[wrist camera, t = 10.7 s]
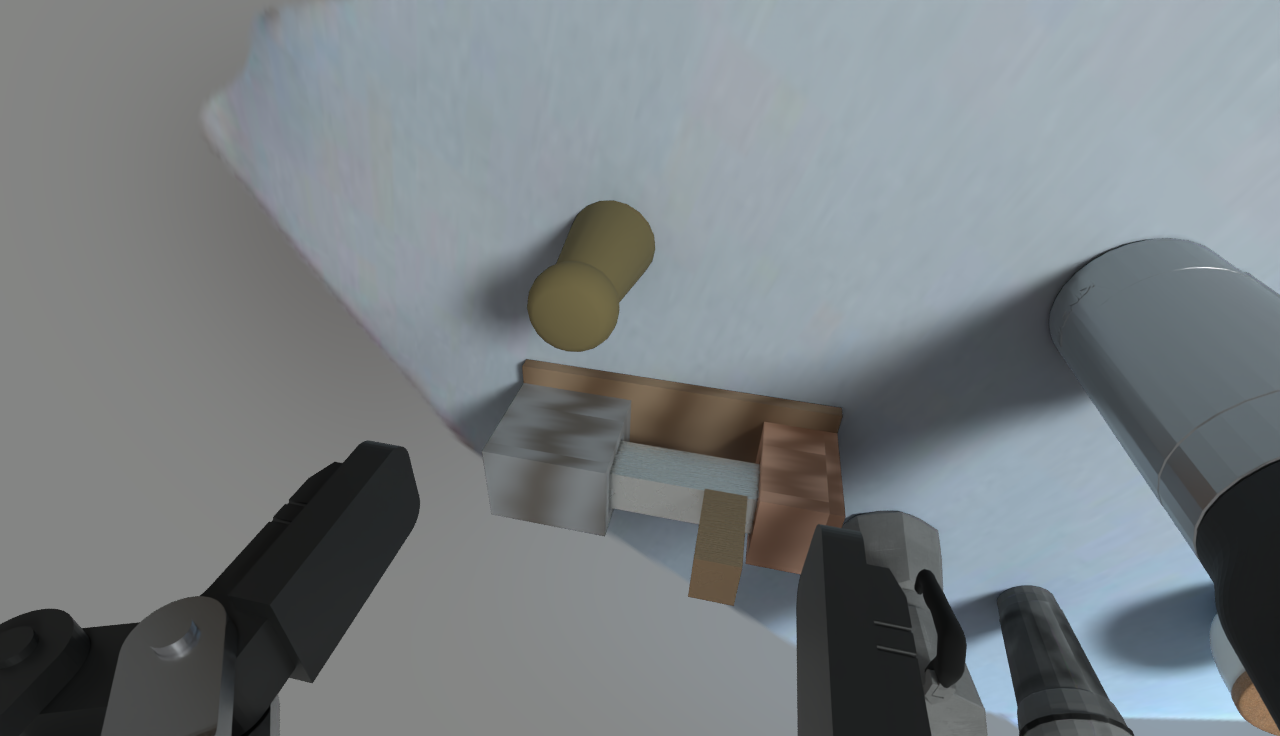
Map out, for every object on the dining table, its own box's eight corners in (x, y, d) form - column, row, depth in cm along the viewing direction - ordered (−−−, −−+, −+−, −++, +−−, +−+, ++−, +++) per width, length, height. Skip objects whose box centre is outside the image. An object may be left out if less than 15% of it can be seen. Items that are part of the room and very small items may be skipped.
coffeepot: (917, 600, 56) (962, 828, 41) (814, 579, 57) (822, 794, 42) (980, 484, 47) (1065, 724, 32) (856, 463, 48) (885, 684, 34)
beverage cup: (1089, 613, 52) (1223, 909, 36) (1003, 634, 56) (1090, 910, 40) (1050, 565, 50) (1174, 857, 34) (963, 590, 54) (1038, 864, 38)
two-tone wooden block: (814, 471, 44) (820, 583, 36) (804, 508, 46) (806, 621, 38) (594, 434, 46) (554, 531, 38) (594, 471, 48) (557, 569, 41)
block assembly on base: (841, 407, 45) (852, 498, 38) (813, 499, 51) (818, 593, 44) (526, 359, 49) (478, 433, 41) (534, 449, 55) (493, 528, 47)
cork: (619, 298, 44) (576, 386, 35) (554, 244, 42) (492, 321, 34) (673, 242, 40) (640, 323, 32) (604, 181, 39) (550, 249, 30)
